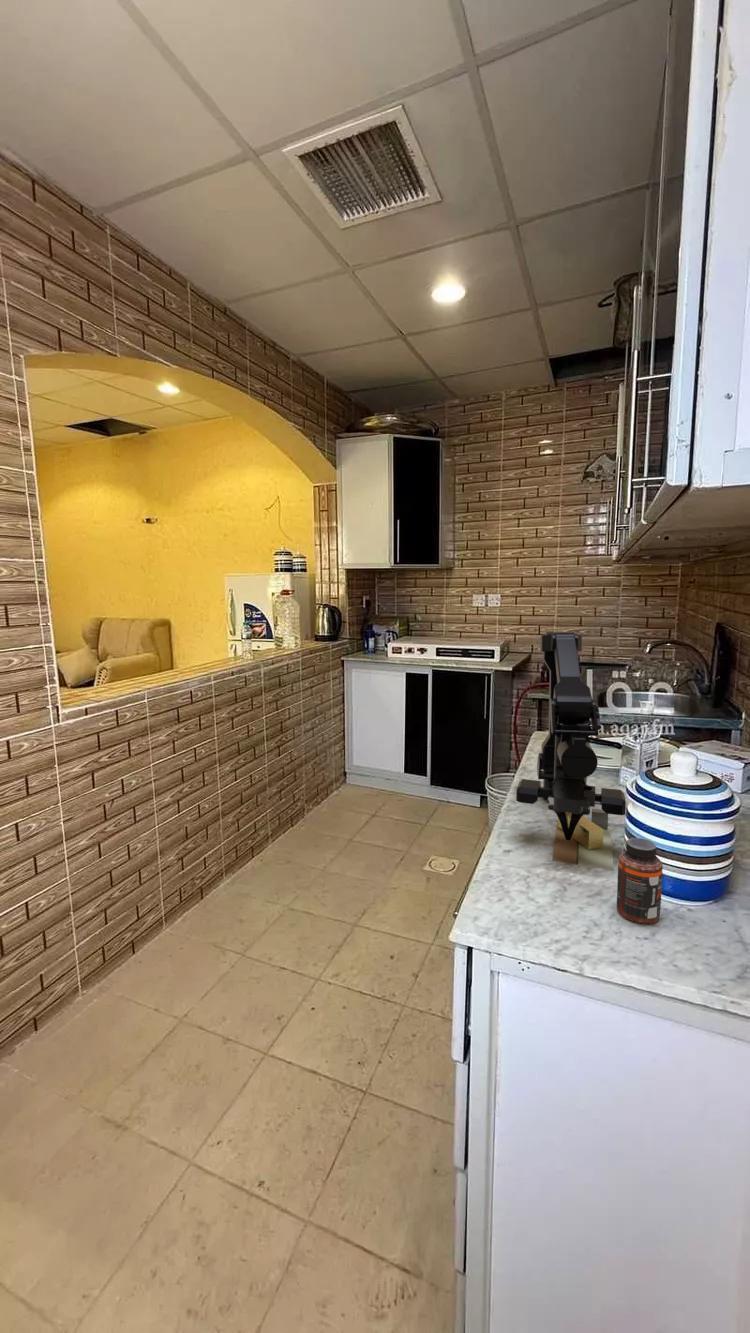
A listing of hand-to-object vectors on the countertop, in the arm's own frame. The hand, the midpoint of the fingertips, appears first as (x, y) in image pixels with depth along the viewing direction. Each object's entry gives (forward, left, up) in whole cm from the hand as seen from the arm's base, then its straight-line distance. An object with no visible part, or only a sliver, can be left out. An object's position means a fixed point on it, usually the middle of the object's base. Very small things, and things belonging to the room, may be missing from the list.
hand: (568, 839), depth 99 cm
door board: (-2, +3, -2) cm, 4 cm away
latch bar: (-4, +2, -1) cm, 4 cm away
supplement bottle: (+17, +11, -3) cm, 20 cm away
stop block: (-10, +6, -1) cm, 11 cm away
